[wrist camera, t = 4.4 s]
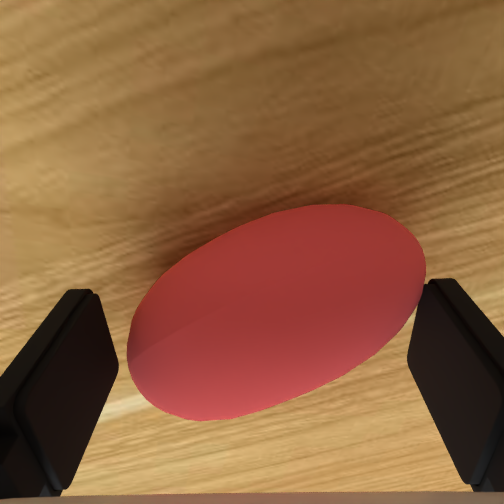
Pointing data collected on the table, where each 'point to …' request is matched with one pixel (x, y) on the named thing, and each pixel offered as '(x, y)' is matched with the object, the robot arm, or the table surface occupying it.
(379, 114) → the table surface
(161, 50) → the table surface
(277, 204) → the table surface
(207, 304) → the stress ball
